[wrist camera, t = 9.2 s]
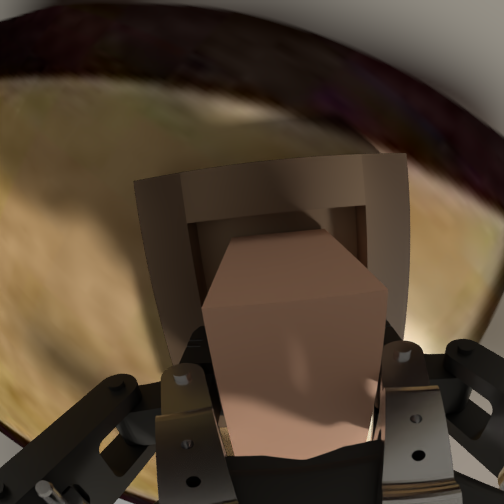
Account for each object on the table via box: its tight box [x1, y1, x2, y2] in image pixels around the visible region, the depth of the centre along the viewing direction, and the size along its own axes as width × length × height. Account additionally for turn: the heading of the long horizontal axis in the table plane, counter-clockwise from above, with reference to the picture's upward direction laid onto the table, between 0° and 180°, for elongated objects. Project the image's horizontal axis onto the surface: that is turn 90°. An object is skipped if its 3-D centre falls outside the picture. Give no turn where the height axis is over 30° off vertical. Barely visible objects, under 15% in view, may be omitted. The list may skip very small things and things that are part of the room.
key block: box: [201, 229, 388, 460], centre depth 10 cm, size 7×4×7 cm, turn 6°
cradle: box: [134, 153, 410, 427], centre depth 14 cm, size 11×13×2 cm
